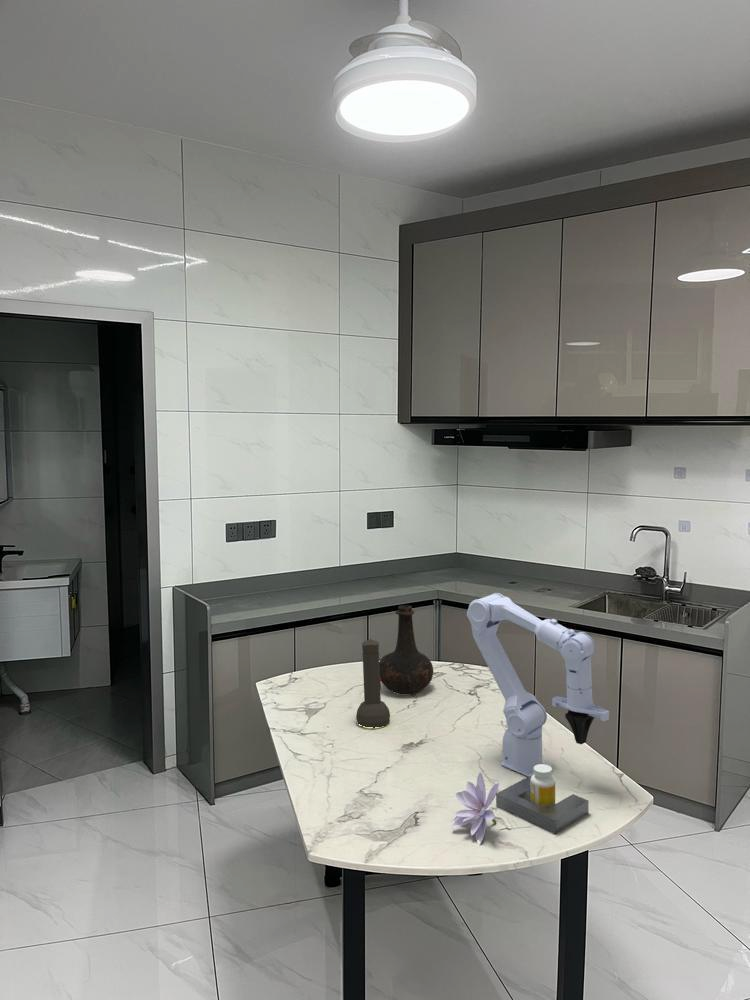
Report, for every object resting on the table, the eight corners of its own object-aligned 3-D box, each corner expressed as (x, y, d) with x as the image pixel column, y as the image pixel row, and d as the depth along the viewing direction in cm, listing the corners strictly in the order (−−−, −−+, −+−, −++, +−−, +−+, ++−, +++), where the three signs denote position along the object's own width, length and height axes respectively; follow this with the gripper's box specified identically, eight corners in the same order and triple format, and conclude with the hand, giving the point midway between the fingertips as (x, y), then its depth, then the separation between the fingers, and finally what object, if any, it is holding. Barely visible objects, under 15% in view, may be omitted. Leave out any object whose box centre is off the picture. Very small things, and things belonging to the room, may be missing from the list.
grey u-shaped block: (496, 806, 169) (496, 793, 168) (529, 788, 176) (529, 776, 176) (555, 834, 156) (555, 820, 156) (588, 813, 164) (588, 800, 164)
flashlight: (357, 730, 213) (391, 728, 214) (353, 645, 211) (388, 643, 211) (355, 717, 223) (388, 715, 223) (352, 635, 220) (385, 633, 221)
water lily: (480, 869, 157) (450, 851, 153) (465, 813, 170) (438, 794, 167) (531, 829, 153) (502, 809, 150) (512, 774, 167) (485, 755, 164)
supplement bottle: (526, 810, 166) (525, 769, 165) (538, 800, 170) (537, 760, 169) (548, 818, 163) (547, 776, 162) (559, 808, 167) (559, 766, 166)
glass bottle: (376, 682, 252) (373, 601, 249) (428, 679, 254) (426, 597, 251) (382, 702, 234) (379, 614, 232) (438, 697, 236) (436, 610, 233)
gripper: (616, 688, 172) (618, 746, 173) (564, 675, 183) (566, 729, 184) (597, 696, 167) (599, 755, 168) (545, 682, 179) (547, 737, 180)
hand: (581, 742), depth 176 cm, fingers closed
